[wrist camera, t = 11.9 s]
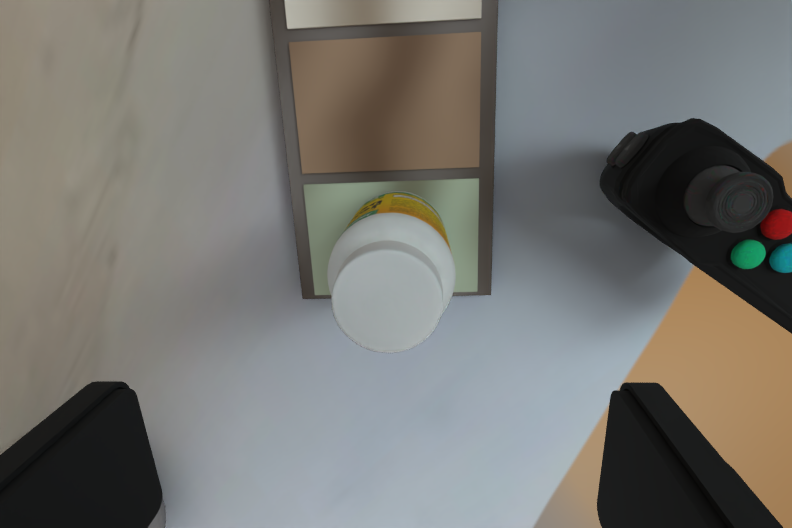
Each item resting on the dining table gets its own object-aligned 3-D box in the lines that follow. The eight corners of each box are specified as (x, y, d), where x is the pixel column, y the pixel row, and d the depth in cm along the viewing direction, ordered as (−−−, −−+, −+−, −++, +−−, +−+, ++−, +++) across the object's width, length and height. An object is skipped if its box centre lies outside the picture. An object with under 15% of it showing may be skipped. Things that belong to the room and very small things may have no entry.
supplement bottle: (414, 299, 26) (412, 396, 17) (333, 253, 26) (285, 328, 16) (465, 220, 25) (492, 280, 16) (379, 170, 24) (355, 201, 15)
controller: (607, 105, 24) (734, 97, 14) (773, 238, 25) (986, 310, 16) (552, 173, 25) (635, 208, 15) (714, 296, 27) (879, 395, 17)
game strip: (497, -142, 21) (502, -158, 20) (488, 288, 27) (491, 296, 26) (261, -124, 21) (252, -138, 20) (306, 292, 28) (301, 300, 27)
